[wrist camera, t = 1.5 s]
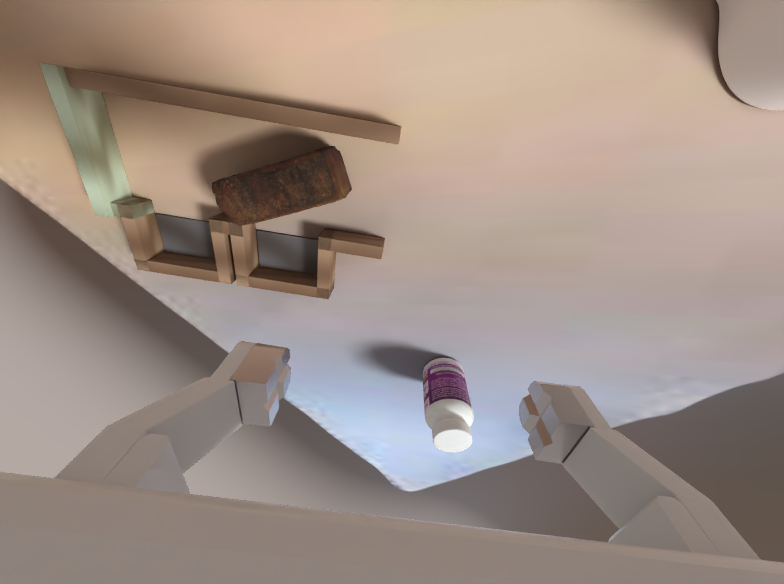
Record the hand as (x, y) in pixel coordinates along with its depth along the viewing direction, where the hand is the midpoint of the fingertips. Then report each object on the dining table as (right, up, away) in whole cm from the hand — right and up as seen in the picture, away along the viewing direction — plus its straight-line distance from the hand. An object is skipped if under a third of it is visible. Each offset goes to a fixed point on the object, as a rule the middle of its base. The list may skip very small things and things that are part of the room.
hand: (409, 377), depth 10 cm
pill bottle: (+6, -7, +28) cm, 30 cm away
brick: (-10, +13, +17) cm, 24 cm away
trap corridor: (-14, +12, +18) cm, 25 cm away
